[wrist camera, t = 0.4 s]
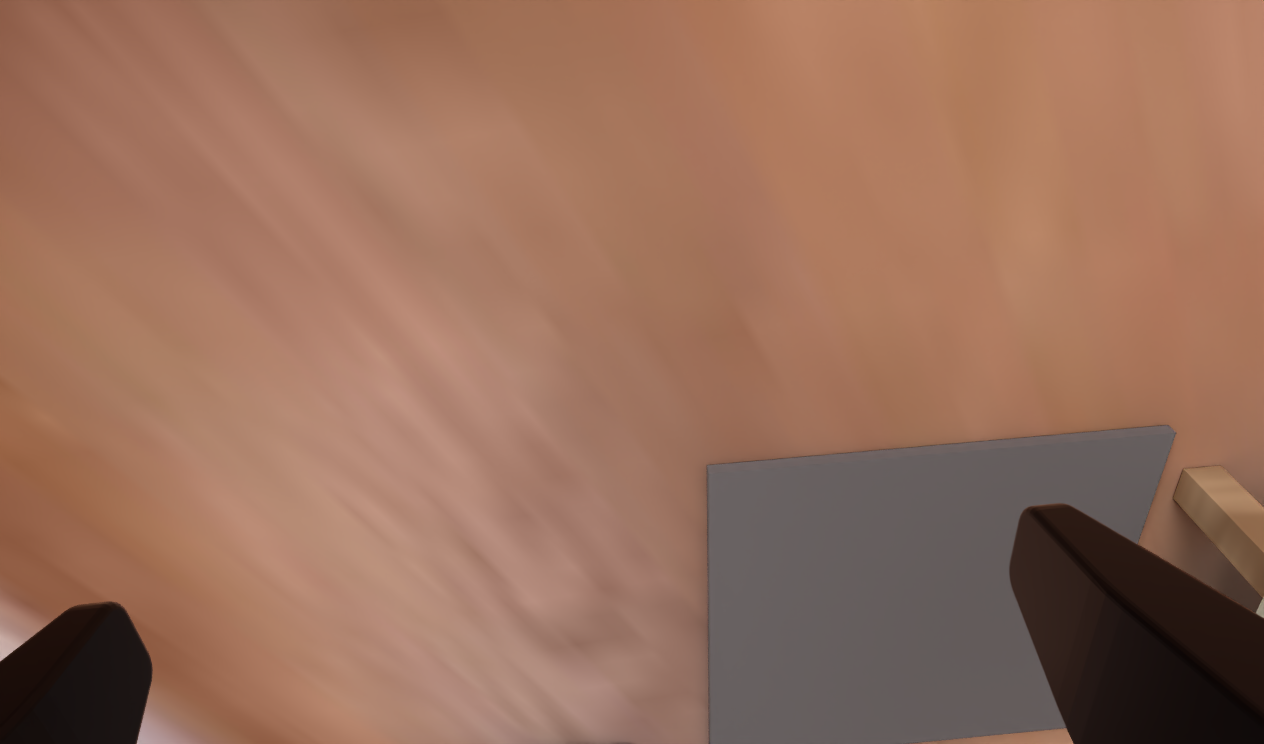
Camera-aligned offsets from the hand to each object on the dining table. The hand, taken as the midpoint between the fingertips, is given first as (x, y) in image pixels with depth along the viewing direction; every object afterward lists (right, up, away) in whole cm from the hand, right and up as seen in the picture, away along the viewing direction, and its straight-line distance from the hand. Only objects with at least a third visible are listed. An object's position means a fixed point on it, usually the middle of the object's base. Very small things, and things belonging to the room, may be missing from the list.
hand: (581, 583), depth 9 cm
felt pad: (+10, -6, +21) cm, 24 cm away
